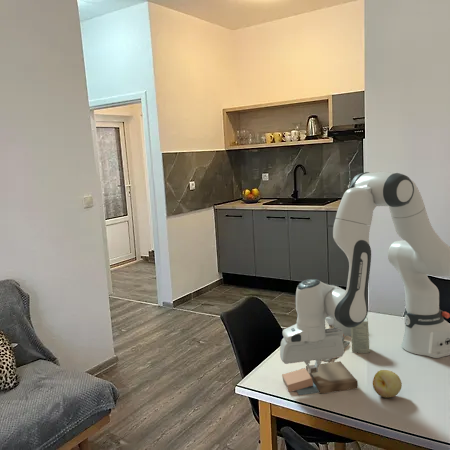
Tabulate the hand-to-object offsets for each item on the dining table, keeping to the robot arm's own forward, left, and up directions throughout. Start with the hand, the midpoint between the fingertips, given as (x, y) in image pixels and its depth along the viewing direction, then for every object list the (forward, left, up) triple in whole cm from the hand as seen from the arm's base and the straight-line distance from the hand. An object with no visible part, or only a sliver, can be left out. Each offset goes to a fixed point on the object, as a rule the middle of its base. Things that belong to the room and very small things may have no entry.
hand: (313, 372), depth 145 cm
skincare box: (-24, -18, -4) cm, 30 cm away
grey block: (-24, -34, -4) cm, 42 cm away
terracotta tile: (+5, 0, -3) cm, 6 cm away
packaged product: (-13, -23, -5) cm, 26 cm away
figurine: (-25, -45, -4) cm, 52 cm away
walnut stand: (-6, 0, -4) cm, 7 cm away
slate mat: (+3, 0, -4) cm, 5 cm away
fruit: (-18, +13, -4) cm, 23 cm away
